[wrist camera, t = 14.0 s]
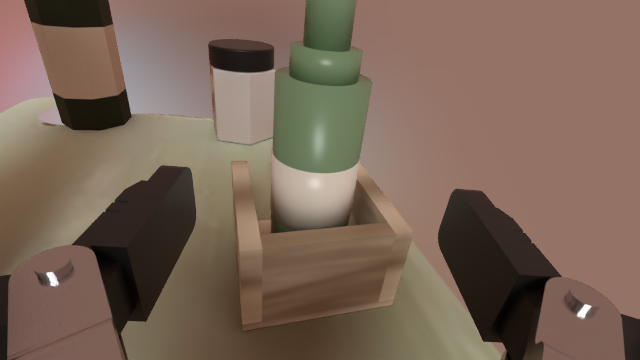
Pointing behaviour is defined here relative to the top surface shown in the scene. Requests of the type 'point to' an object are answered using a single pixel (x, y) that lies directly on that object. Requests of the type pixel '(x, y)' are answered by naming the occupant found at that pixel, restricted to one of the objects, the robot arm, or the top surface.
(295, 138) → the green bottle
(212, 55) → the jar
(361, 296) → the cradle
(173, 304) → the top surface
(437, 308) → the top surface
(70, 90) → the wine bottle
